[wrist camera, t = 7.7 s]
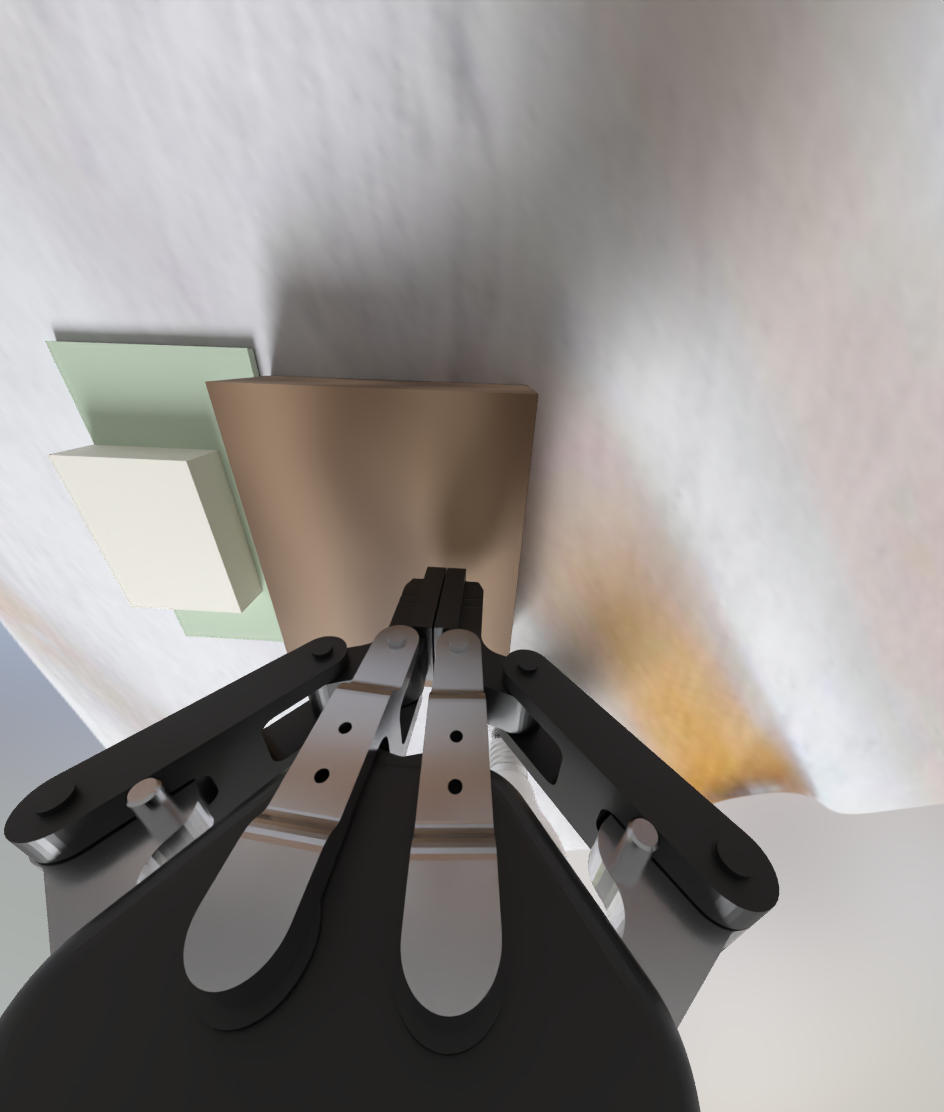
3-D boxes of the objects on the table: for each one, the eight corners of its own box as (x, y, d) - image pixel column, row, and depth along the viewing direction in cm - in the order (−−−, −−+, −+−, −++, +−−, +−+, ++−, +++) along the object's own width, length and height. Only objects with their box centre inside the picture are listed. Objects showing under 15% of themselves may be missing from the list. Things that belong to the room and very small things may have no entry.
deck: (527, 385, 15) (538, 394, 11) (503, 637, 22) (505, 691, 18) (270, 375, 15) (204, 381, 12) (326, 627, 22) (295, 678, 19)
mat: (252, 348, 15) (246, 348, 14) (320, 639, 23) (318, 643, 22) (55, 341, 15) (45, 341, 15) (190, 631, 23) (185, 635, 23)
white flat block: (47, 454, 15) (93, 444, 17) (130, 606, 19) (161, 585, 21) (186, 461, 15) (218, 449, 17) (241, 613, 19) (262, 591, 21)
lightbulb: (454, 753, 28) (434, 961, 18) (480, 702, 25) (472, 920, 15) (529, 771, 29) (548, 981, 19) (564, 724, 26) (606, 946, 16)
